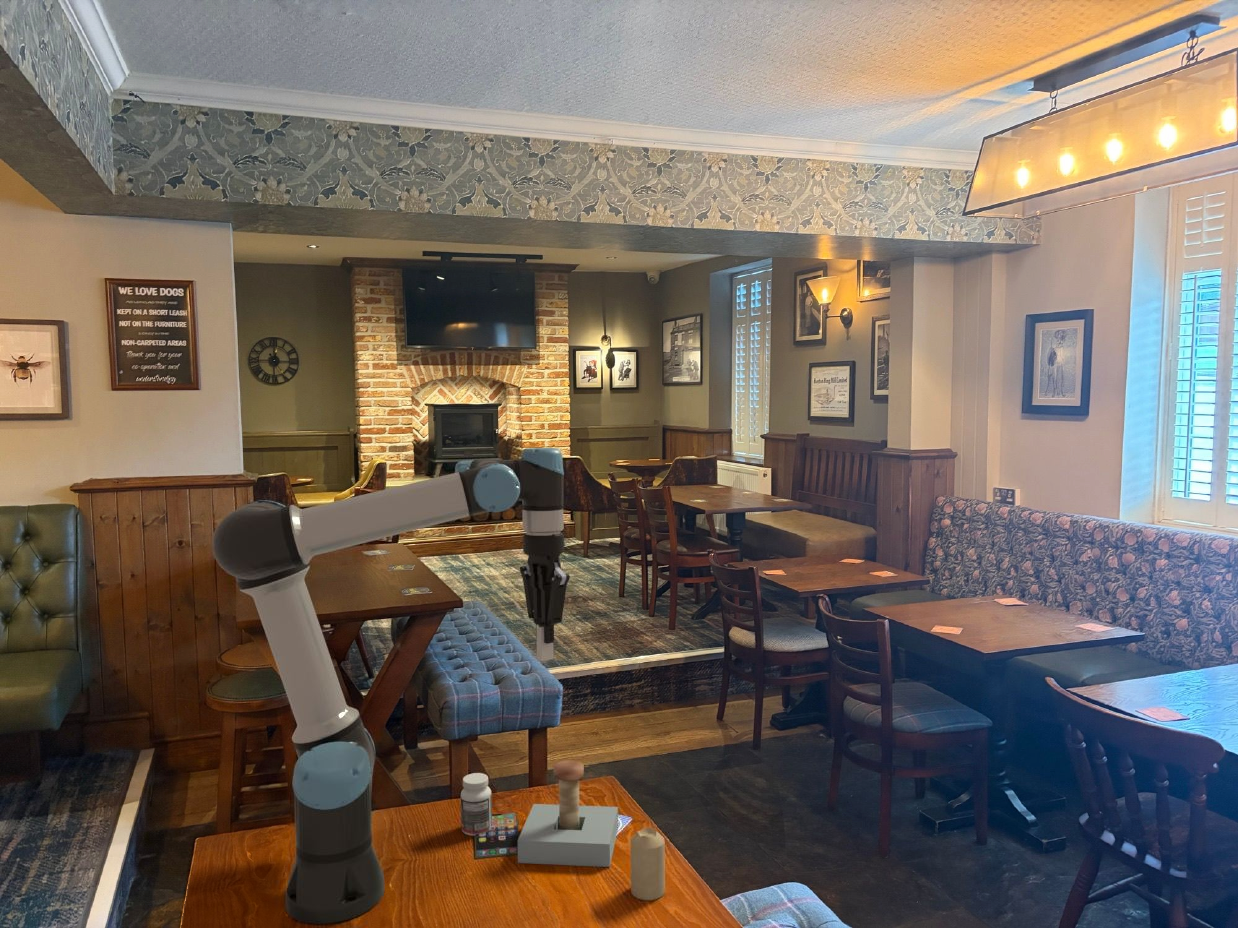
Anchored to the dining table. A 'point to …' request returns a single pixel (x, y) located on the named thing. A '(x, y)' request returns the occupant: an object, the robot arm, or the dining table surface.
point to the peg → (569, 792)
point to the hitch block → (568, 837)
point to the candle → (647, 864)
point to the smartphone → (498, 837)
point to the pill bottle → (476, 804)
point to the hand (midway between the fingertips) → (545, 659)
